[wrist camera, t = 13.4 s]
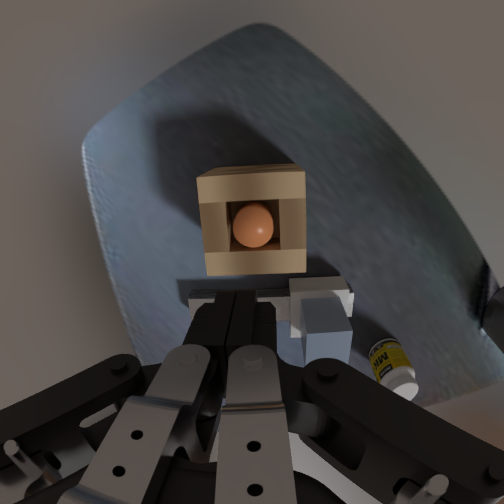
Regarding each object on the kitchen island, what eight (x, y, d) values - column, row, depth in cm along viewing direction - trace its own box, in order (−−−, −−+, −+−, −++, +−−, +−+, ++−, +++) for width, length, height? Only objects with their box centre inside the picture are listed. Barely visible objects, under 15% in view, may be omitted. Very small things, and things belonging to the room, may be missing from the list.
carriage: (342, 275, 33) (365, 322, 24) (339, 318, 35) (356, 370, 26) (288, 278, 33) (295, 326, 24) (289, 321, 35) (294, 375, 26)
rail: (349, 284, 33) (354, 293, 31) (347, 307, 34) (351, 316, 33) (191, 290, 35) (187, 298, 33) (195, 312, 36) (191, 321, 34)
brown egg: (271, 199, 25) (272, 207, 22) (273, 234, 26) (273, 246, 23) (235, 201, 25) (231, 209, 22) (238, 236, 26) (234, 248, 23)
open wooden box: (295, 163, 29) (305, 171, 22) (297, 240, 32) (306, 272, 24) (214, 167, 30) (196, 177, 22) (221, 243, 32) (207, 275, 25)
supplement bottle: (376, 335, 36) (396, 379, 28) (405, 338, 36) (428, 380, 28) (362, 363, 37) (377, 407, 30) (391, 365, 38) (409, 407, 30)
